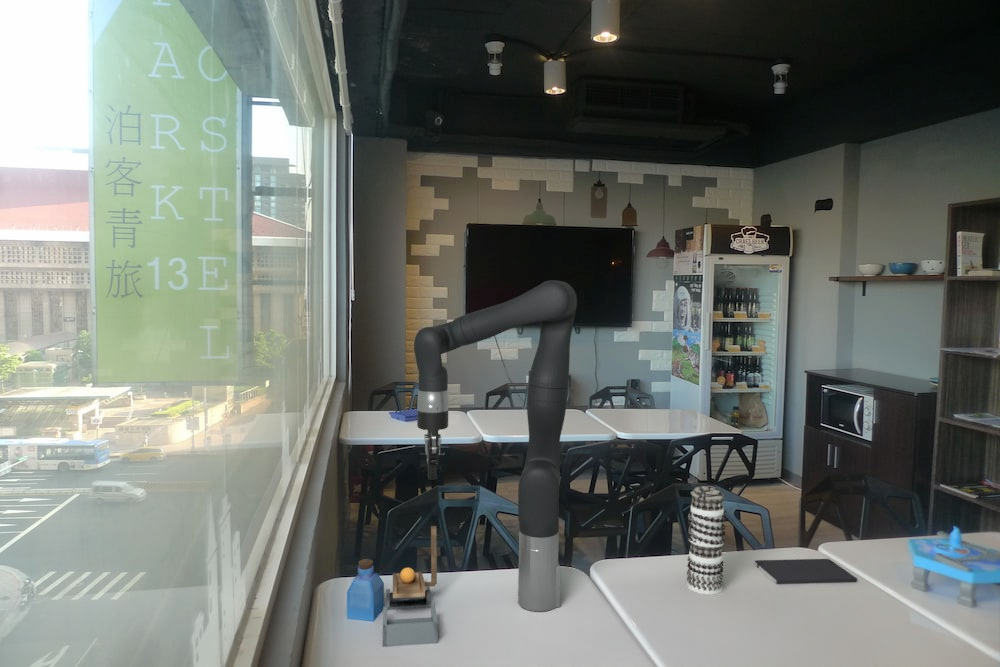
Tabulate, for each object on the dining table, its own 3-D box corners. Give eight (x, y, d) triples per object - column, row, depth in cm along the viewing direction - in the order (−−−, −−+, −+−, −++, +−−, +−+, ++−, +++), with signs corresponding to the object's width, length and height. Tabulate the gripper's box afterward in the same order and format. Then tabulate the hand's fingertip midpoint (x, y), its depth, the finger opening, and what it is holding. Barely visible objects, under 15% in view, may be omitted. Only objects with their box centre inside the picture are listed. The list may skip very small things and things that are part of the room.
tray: (434, 620, 151) (434, 602, 151) (437, 642, 142) (437, 624, 141) (383, 623, 149) (383, 606, 149) (382, 646, 140) (382, 627, 140)
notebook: (776, 586, 172) (856, 584, 174) (776, 580, 172) (857, 578, 174) (753, 565, 185) (828, 564, 187) (753, 560, 185) (829, 558, 187)
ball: (414, 581, 167) (414, 565, 167) (415, 584, 163) (415, 568, 164) (399, 582, 166) (399, 566, 167) (400, 585, 163) (400, 569, 163)
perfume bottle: (373, 621, 150) (373, 568, 149) (347, 618, 152) (346, 565, 151) (383, 609, 156) (383, 557, 156) (358, 606, 158) (358, 555, 157)
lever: (434, 583, 168) (433, 523, 171) (439, 595, 151) (438, 529, 154) (392, 585, 166) (392, 525, 169) (392, 598, 150) (393, 531, 153)
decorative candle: (731, 593, 167) (735, 492, 165) (697, 597, 164) (701, 494, 163) (711, 578, 176) (714, 482, 174) (678, 581, 173) (681, 484, 172)
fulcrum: (429, 597, 162) (429, 584, 162) (430, 607, 157) (430, 593, 157) (386, 600, 161) (386, 586, 160) (386, 610, 156) (386, 596, 156)
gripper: (450, 413, 160) (450, 485, 162) (446, 403, 174) (445, 471, 175) (418, 413, 159) (418, 486, 160) (416, 404, 172) (416, 471, 173)
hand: (432, 478), depth 168 cm, fingers closed
